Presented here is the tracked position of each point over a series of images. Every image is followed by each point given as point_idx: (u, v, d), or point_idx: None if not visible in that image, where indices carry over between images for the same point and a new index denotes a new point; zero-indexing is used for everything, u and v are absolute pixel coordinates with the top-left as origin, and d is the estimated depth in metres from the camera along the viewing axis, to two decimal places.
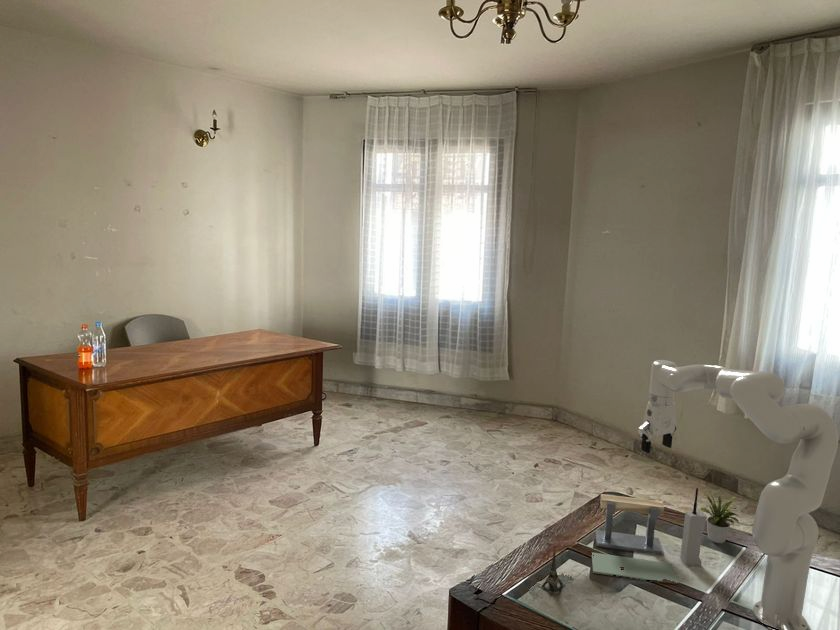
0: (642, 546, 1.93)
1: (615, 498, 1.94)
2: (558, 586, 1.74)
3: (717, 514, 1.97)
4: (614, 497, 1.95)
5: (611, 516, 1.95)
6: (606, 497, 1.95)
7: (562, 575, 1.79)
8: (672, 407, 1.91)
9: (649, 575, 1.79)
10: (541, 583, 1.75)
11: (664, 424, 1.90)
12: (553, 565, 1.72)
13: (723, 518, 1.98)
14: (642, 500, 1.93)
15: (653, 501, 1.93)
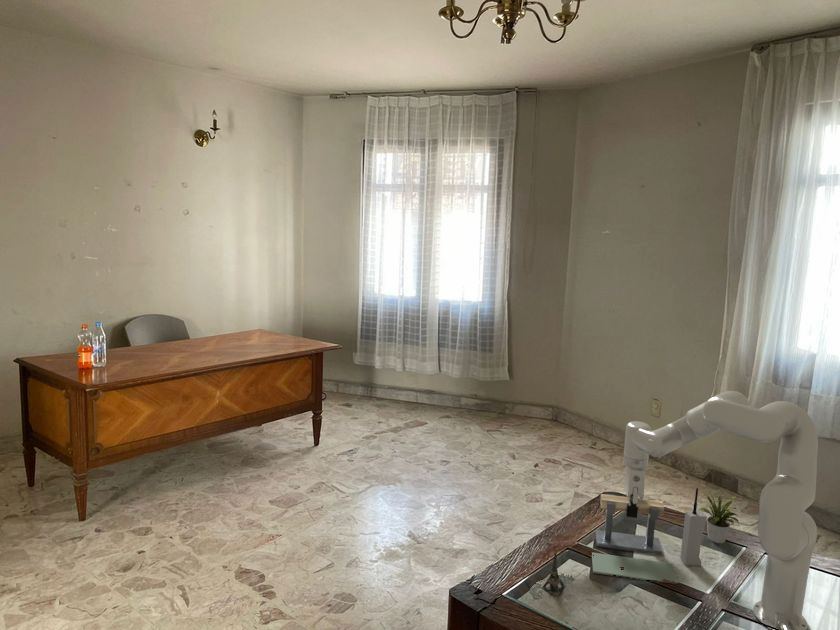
0: (642, 546, 1.93)
1: (615, 498, 1.94)
2: (559, 587, 1.73)
3: (717, 514, 1.97)
4: (614, 497, 1.95)
5: (611, 516, 1.95)
6: (606, 497, 1.95)
7: (563, 576, 1.79)
8: None
9: (649, 575, 1.79)
10: (542, 584, 1.75)
11: None
12: (554, 566, 1.72)
13: (723, 518, 1.98)
14: (642, 500, 1.93)
15: (653, 501, 1.93)
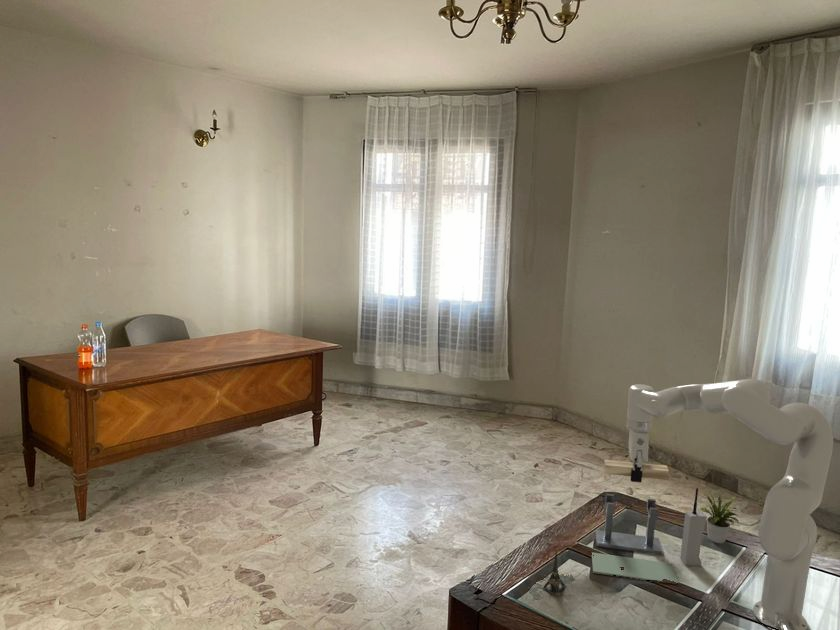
0: (642, 546, 1.93)
1: (619, 463, 1.92)
2: (560, 587, 1.73)
3: (717, 514, 1.97)
4: (618, 462, 1.92)
5: (611, 516, 1.95)
6: (610, 463, 1.92)
7: (564, 576, 1.78)
8: None
9: (649, 575, 1.79)
10: (543, 584, 1.74)
11: None
12: (555, 566, 1.72)
13: (723, 518, 1.98)
14: (646, 465, 1.91)
15: (657, 466, 1.90)
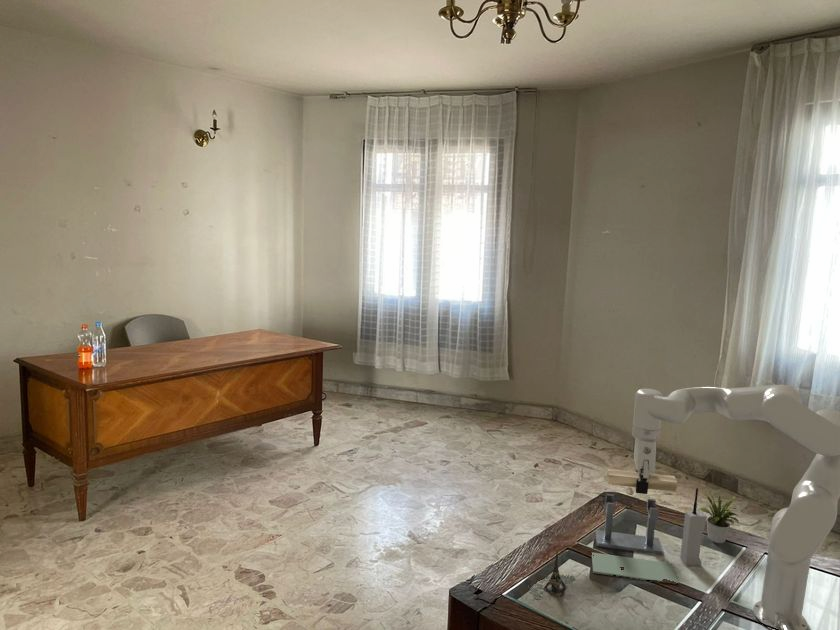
0: (642, 546, 1.93)
1: (624, 473, 1.78)
2: (561, 588, 1.73)
3: (717, 514, 1.97)
4: (622, 472, 1.79)
5: (611, 516, 1.95)
6: (614, 472, 1.78)
7: (565, 577, 1.78)
8: None
9: (649, 575, 1.79)
10: (543, 584, 1.74)
11: None
12: (556, 566, 1.72)
13: (723, 518, 1.98)
14: (653, 475, 1.77)
15: (665, 476, 1.76)
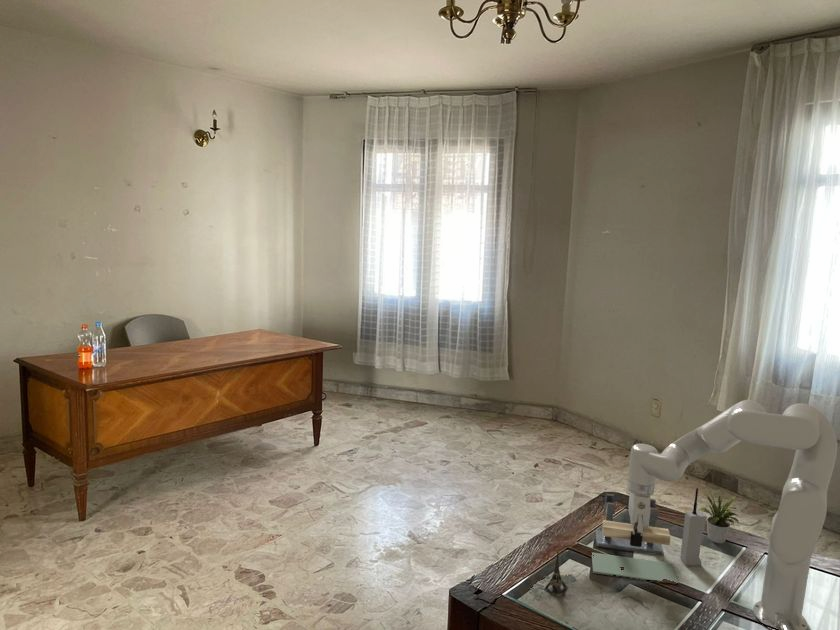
0: (642, 546, 1.93)
1: (618, 525, 1.81)
2: (561, 588, 1.73)
3: (717, 514, 1.97)
4: (617, 524, 1.82)
5: (611, 516, 1.95)
6: (609, 524, 1.82)
7: (566, 577, 1.78)
8: None
9: (649, 575, 1.79)
10: (544, 585, 1.74)
11: None
12: (556, 567, 1.71)
13: (723, 518, 1.98)
14: (647, 528, 1.80)
15: (658, 529, 1.80)
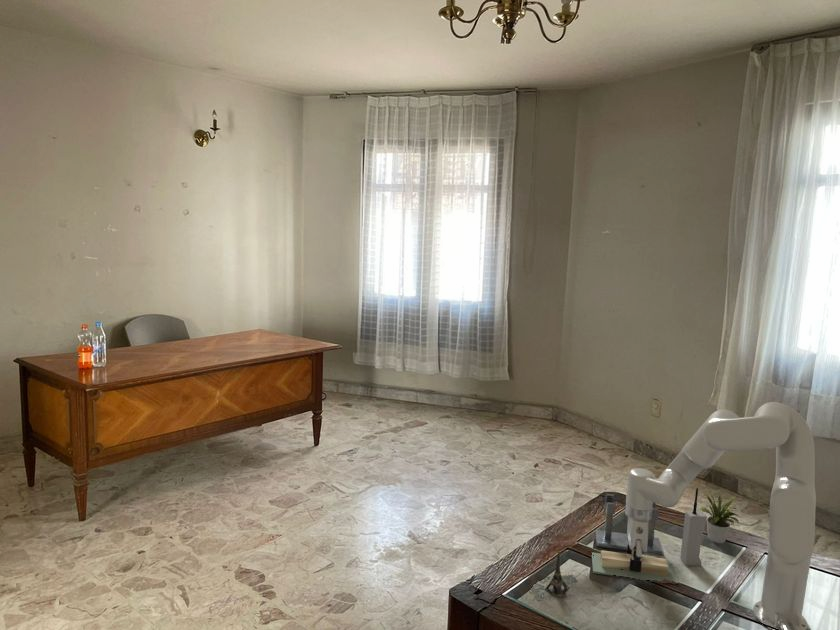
0: None
1: (617, 556, 1.83)
2: (562, 588, 1.73)
3: (717, 514, 1.97)
4: (615, 554, 1.84)
5: (611, 516, 1.95)
6: (607, 554, 1.83)
7: (567, 578, 1.78)
8: None
9: (649, 575, 1.79)
10: (545, 585, 1.74)
11: None
12: (557, 567, 1.71)
13: (723, 518, 1.98)
14: (645, 558, 1.82)
15: (656, 559, 1.82)
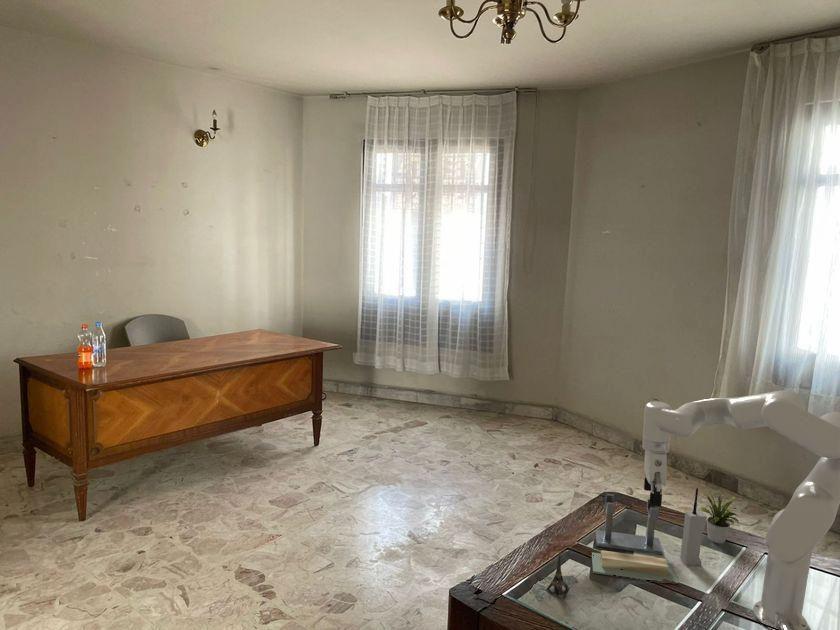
0: (642, 546, 1.93)
1: (617, 556, 1.83)
2: (563, 589, 1.72)
3: (717, 514, 1.97)
4: (615, 554, 1.84)
5: (611, 516, 1.95)
6: (607, 554, 1.83)
7: (568, 578, 1.77)
8: None
9: (649, 575, 1.79)
10: (546, 586, 1.74)
11: None
12: (558, 568, 1.71)
13: (723, 518, 1.98)
14: (645, 558, 1.82)
15: (656, 559, 1.82)
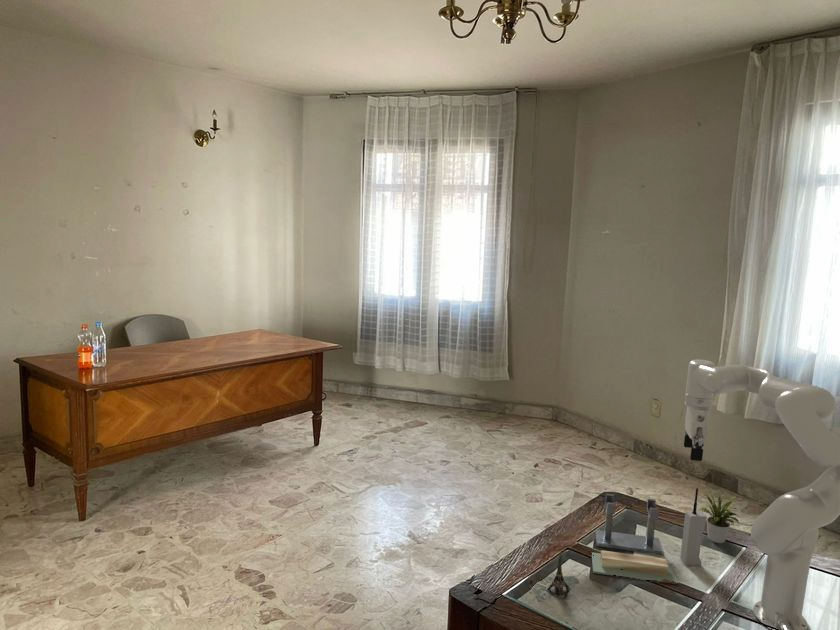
0: (642, 546, 1.93)
1: (617, 556, 1.83)
2: (564, 590, 1.72)
3: (717, 514, 1.97)
4: (615, 554, 1.84)
5: (611, 516, 1.95)
6: (607, 554, 1.83)
7: (568, 579, 1.77)
8: None
9: (649, 575, 1.79)
10: (547, 586, 1.74)
11: None
12: (559, 568, 1.71)
13: (723, 518, 1.98)
14: (645, 558, 1.82)
15: (656, 559, 1.82)
